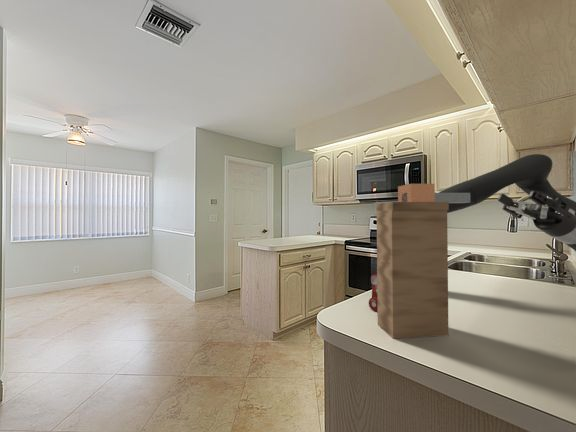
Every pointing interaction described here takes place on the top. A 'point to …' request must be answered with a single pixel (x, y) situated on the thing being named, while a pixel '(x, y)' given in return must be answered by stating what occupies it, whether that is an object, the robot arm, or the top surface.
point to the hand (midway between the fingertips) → (514, 195)
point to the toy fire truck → (374, 294)
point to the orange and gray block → (429, 194)
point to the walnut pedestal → (412, 268)
